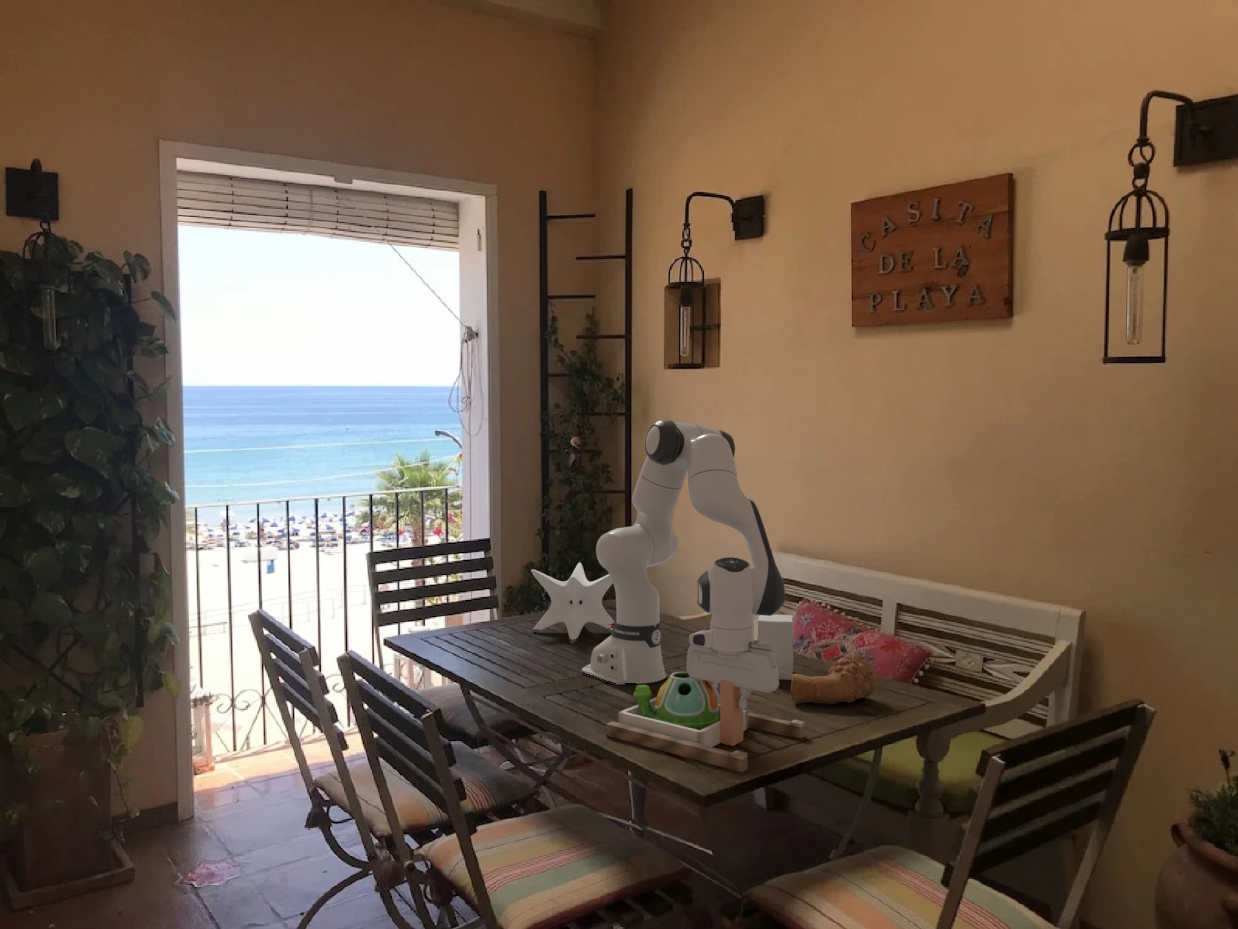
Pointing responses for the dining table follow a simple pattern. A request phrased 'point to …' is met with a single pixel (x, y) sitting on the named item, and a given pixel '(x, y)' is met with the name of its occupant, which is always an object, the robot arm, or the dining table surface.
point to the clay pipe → (836, 682)
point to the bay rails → (703, 752)
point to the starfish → (575, 601)
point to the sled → (720, 732)
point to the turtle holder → (680, 702)
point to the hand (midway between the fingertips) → (731, 706)
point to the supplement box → (778, 640)
